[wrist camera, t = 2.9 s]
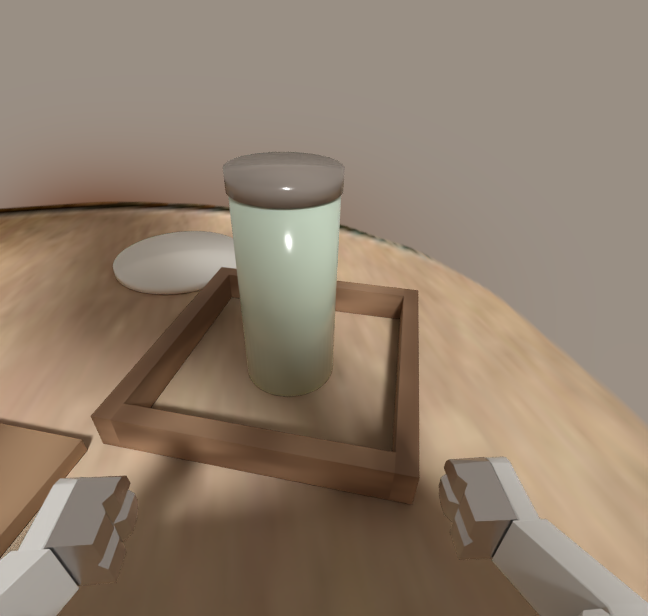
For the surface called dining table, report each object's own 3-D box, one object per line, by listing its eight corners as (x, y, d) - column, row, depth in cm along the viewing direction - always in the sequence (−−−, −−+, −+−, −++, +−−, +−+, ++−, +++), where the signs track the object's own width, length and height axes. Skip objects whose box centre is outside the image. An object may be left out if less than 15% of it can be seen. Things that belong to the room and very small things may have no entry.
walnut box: (103, 443, 19) (90, 416, 18) (224, 288, 32) (221, 266, 30) (411, 504, 17) (419, 477, 16) (413, 313, 29) (418, 290, 28)
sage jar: (232, 389, 23) (201, 177, 16) (262, 333, 27) (248, 148, 20) (325, 404, 22) (333, 189, 15) (340, 344, 26) (352, 156, 19)
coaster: (85, 285, 32) (83, 278, 31) (158, 231, 41) (157, 226, 40) (214, 302, 30) (213, 295, 30) (260, 242, 39) (260, 237, 39)
